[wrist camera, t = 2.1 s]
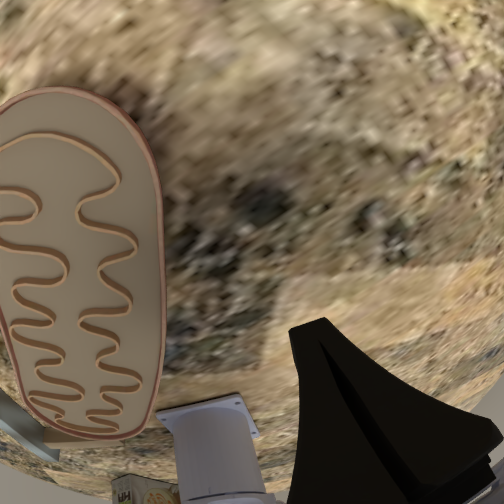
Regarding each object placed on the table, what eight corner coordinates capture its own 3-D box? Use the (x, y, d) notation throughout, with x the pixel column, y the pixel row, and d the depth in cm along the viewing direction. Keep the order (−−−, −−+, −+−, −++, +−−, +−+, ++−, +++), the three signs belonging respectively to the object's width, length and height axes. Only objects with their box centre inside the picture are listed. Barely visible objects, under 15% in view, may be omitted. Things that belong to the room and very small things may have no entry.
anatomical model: (16, 83, 10) (-38, 91, 6) (199, 96, 13) (207, 101, 9) (48, 382, 21) (38, 430, 17) (157, 396, 24) (159, 447, 20)
